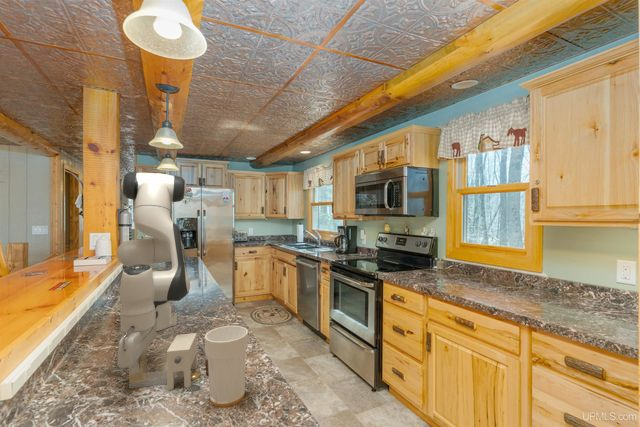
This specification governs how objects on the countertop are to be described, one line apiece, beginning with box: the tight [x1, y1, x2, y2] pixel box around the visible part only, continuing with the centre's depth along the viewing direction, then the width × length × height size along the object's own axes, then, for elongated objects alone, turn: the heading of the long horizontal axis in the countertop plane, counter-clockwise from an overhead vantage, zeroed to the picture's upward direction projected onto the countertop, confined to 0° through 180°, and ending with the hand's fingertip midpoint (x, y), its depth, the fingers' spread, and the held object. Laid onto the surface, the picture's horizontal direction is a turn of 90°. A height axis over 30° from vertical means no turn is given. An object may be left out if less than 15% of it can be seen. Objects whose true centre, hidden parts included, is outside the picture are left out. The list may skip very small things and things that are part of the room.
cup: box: [204, 325, 249, 408], centre depth 83 cm, size 11×11×17 cm
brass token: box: [191, 370, 202, 381], centre depth 93 cm, size 4×4×1 cm
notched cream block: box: [166, 332, 198, 391], centre depth 92 cm, size 13×6×11 cm, turn 12°
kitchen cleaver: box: [198, 342, 209, 377], centre depth 106 cm, size 24×1×10 cm
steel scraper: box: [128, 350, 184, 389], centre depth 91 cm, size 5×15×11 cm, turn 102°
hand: (139, 367), depth 90 cm, fingers closed on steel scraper, 3 cm apart
